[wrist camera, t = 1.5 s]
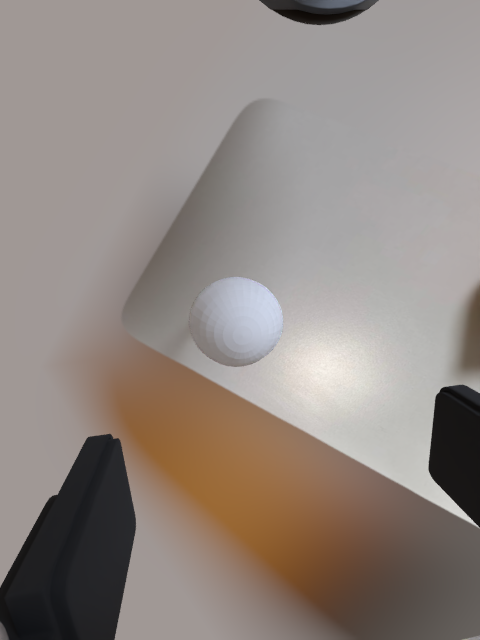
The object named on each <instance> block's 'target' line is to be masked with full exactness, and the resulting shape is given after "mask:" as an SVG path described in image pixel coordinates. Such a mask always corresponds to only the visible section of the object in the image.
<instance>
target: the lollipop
mask: <svg viewBox="0 0 480 640" xmlns="http://www.w3.org/2000/svg"><path fill="white" fill-rule="evenodd" d="M189 325H190V331H191V334H192V337H193V340H194V341H195V343H196V345H197V347H198V348H199V349H200V350H201V351H202V352H203V353H204V354H205V355H206V356H207V357H209V358H210V359H212V360H214V361H216V362H218V363H220V364H223V365H226V366H233V367H239V366H246V365H250V364H253V363H255V362H257V361H259V360H261V359H262V358H263V357H265V356H266V355H268V354H269V353H270V352H271V351H272V350H273V349H274V347H275V346H276V344H277V343H278V341H279V339H280V336H281V334H282V329H283V315H282V310H281V308H280V305H279V303H278V301H277V300H276V298H275V297H274V295H273V294H272V293H271V292H270V291H269V290H268V289H267V288H266V287H265V286H263V285H262V284H260V283H258V282H256V281H253V280H251V279H248V278H242V277H229V278H225V279H221V280H218V281H216V282H214V283H212V284H210V285H209V286H207V287H206V288H204V289H203V290H202V291H201V292H200V293H199V295H198V296H197V297H196V299H195V301H194V302H193V305H192V307H191V310H190V316H189Z"/></svg>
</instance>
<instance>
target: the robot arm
mask: <svg viewBox="0 0 480 640" xmlns="http://www.w3.org/2000/svg"><path fill="white" fill-rule="evenodd" d="M429 472H430V475H431V477H432V478H433V480H434V481H435V482H436V483H437V484H438V485H439V486H440V487H441V488H442V489H443V490H444V491H445V492H446V493H447V494H448V495H449V496H450V497H451V498H452V500H453V501H454V502H455V503H456V504H457V505H458V506H459V507H460V508H461V509H462V510H463V511H464V512H465V513H466V514H467V515H468V516H469V517H470V518H471V519H472V520H473V521H474V522H475V523H476V524H477V525H478V526H479V527H480V393H478V392H476V391H474V390H473V389H471V388H469V387H467V386H465V385H456V386H449V387H443V388H442V389H441V390H440V392H439V393H438V394H437V395H436V399H435V409H434V418H433V428H432V438H431V448H430V457H429ZM135 530H136V518H135V512H134V507H133V503H132V497H131V492H130V487H129V482H128V477H127V472H126V467H125V462H124V457H123V452H122V447H121V442H120V440H119V439H118V438H117V439H113V437H112V435H111V434H107V435H100V436H92V437H88V438H87V439H86V441H85V443H84V445H83V447H82V449H81V451H80V453H79V455H78V457H77V459H76V460H75V462H74V464H73V466H72V468H71V470H70V472H69V474H68V476H67V478H66V480H65V482H64V484H63V485H62V487H61V490H60V491H59V493H58V495H54V496H52V497H51V498H49V500H48V501H47V503H46V504H45V506H44V508H43V510H42V512H41V513H40V516H39V517H38V519H37V521H36V523H35V524H34V526H33V528H32V530H31V532H30V534H29V536H28V537H27V539H26V541H25V543H24V545H23V546H22V548H21V550H20V552H19V554H18V556H17V558H16V559H15V561H14V563H13V565H12V567H11V569H10V571H9V572H8V574H7V576H6V578H5V580H4V582H3V583H2V585H1V587H0V640H114V639H115V634H116V628H117V623H118V618H119V613H120V608H121V603H122V598H123V593H124V587H125V582H126V577H127V572H128V567H129V562H130V557H131V551H132V546H133V541H134V536H135ZM463 640H480V636H476V637H472V638H467V639H463Z"/></svg>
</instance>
